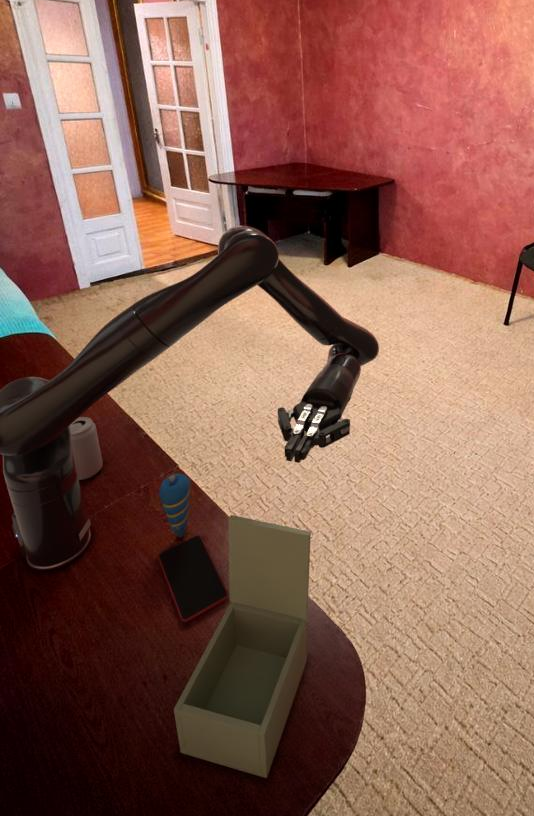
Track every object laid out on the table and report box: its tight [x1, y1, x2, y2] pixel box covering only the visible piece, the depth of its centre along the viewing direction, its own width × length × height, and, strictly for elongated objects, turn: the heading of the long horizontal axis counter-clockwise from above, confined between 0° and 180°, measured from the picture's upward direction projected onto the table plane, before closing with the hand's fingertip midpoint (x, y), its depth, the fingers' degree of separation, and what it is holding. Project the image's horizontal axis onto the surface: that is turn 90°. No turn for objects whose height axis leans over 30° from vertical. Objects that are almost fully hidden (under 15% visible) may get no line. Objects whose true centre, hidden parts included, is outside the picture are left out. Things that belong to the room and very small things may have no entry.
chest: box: [173, 601, 308, 779], centre depth 64 cm, size 14×12×9 cm
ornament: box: [158, 473, 191, 538], centre depth 87 cm, size 5×5×15 cm
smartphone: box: [157, 534, 229, 623], centre depth 82 cm, size 7×1×15 cm
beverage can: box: [69, 416, 104, 481], centre depth 101 cm, size 6×6×12 cm
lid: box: [227, 514, 312, 620], centre depth 67 cm, size 14×12×1 cm
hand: (292, 457), depth 71 cm, fingers closed
